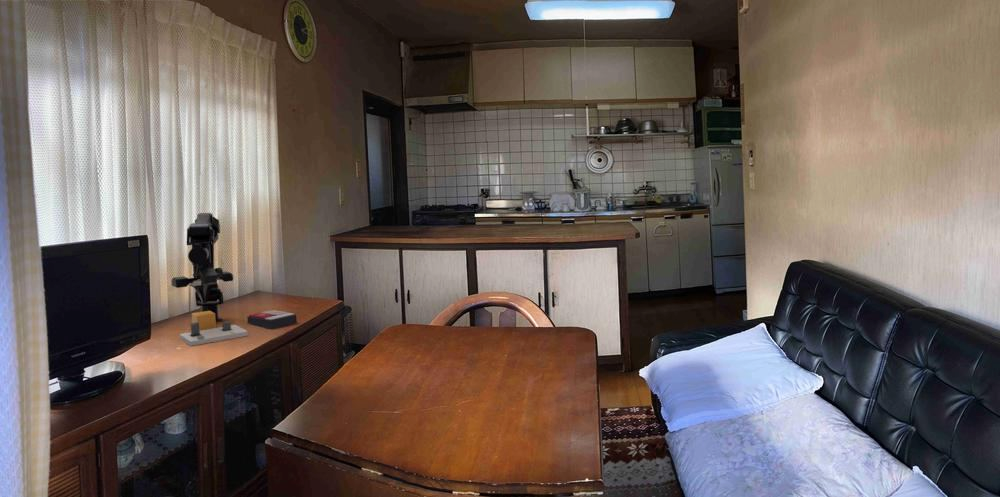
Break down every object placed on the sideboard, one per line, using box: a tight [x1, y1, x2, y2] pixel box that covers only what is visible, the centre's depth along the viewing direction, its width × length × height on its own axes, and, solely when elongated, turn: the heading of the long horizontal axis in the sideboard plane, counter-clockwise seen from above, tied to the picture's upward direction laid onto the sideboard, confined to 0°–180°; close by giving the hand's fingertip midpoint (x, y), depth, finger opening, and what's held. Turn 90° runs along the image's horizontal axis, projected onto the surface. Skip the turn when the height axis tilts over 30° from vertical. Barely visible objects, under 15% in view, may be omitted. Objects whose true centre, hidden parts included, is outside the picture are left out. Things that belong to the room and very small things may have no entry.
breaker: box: [190, 322, 200, 336], centre depth 193 cm, size 3×3×4 cm
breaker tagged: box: [221, 320, 232, 331], centre depth 200 cm, size 3×3×4 cm
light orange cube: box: [191, 311, 217, 331], centre depth 205 cm, size 6×6×6 cm
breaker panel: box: [179, 324, 249, 347], centre depth 196 cm, size 12×18×2 cm, turn 134°
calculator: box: [246, 309, 298, 330], centre depth 215 cm, size 11×4×15 cm
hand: (204, 303), depth 204 cm, fingers closed
